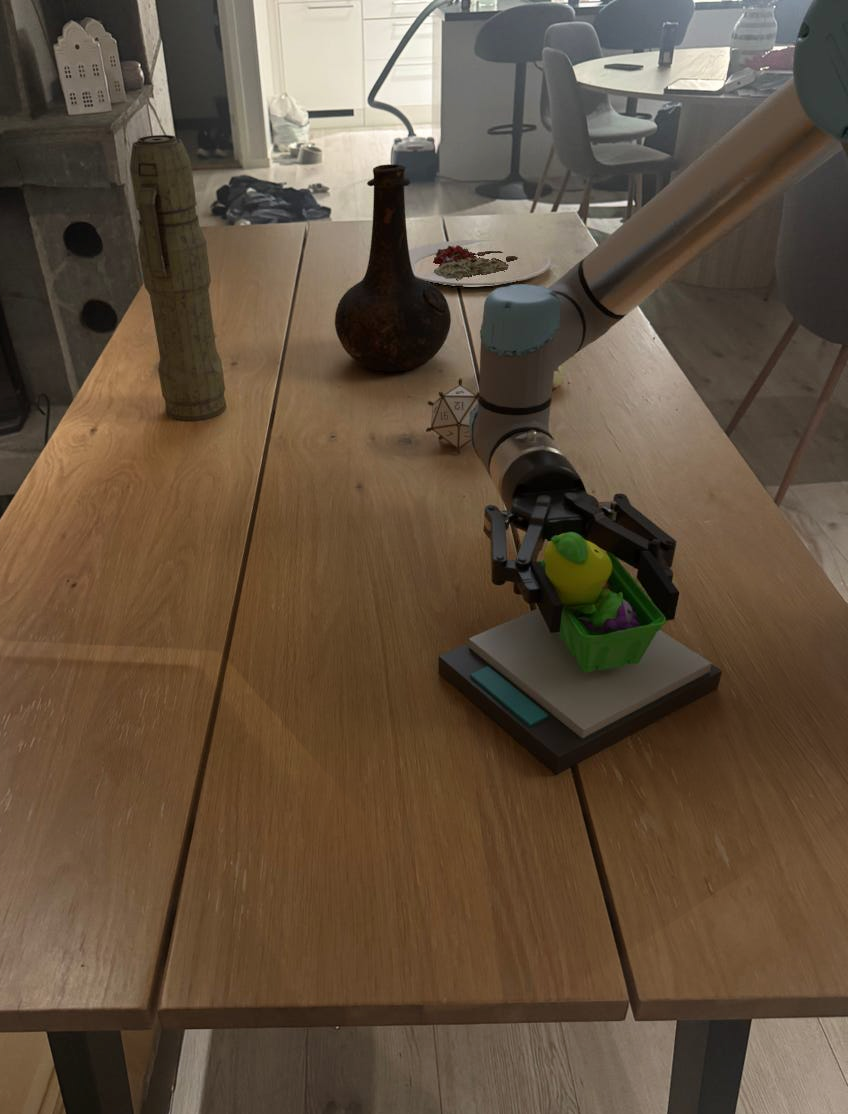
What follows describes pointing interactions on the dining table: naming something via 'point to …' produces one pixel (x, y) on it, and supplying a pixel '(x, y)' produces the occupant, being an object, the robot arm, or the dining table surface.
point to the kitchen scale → (571, 688)
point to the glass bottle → (391, 292)
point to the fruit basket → (599, 604)
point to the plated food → (462, 263)
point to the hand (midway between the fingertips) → (614, 612)
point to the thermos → (177, 278)
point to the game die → (453, 415)
